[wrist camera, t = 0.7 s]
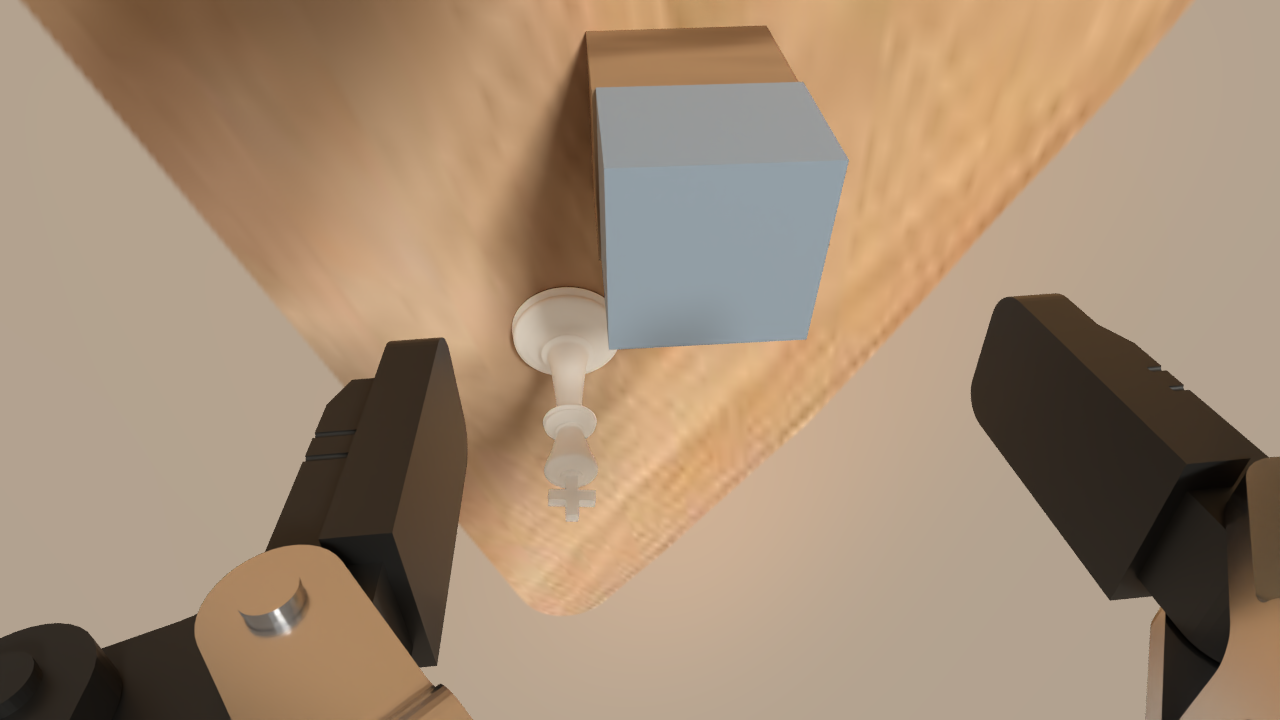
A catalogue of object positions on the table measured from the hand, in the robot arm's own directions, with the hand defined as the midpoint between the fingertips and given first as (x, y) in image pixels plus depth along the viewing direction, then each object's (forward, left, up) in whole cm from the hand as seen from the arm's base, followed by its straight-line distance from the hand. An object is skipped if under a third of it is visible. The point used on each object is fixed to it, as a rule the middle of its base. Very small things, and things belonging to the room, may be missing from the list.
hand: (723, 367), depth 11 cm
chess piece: (+14, -3, -17) cm, 23 cm away
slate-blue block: (+4, +2, -13) cm, 13 cm away
